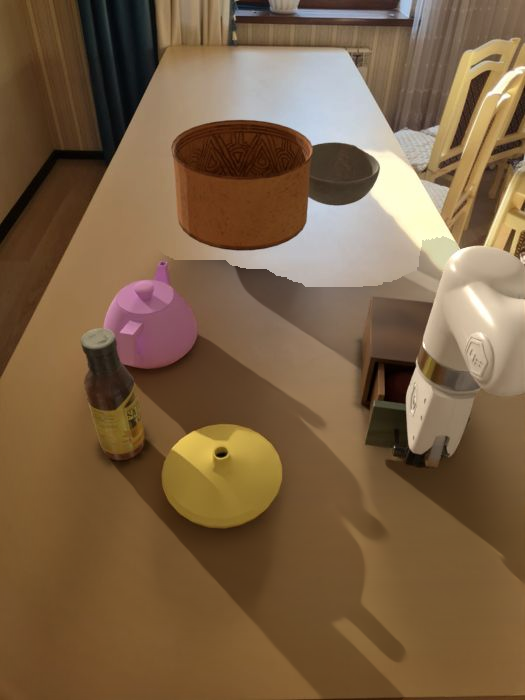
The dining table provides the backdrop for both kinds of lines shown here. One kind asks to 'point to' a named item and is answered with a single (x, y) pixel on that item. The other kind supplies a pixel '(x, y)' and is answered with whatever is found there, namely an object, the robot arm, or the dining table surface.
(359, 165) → the bowl
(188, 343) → the teapot
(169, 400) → the dining table surface
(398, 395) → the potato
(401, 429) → the drawer
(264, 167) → the pot
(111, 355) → the sauce bottle
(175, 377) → the dining table surface
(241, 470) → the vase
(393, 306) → the cabinet
